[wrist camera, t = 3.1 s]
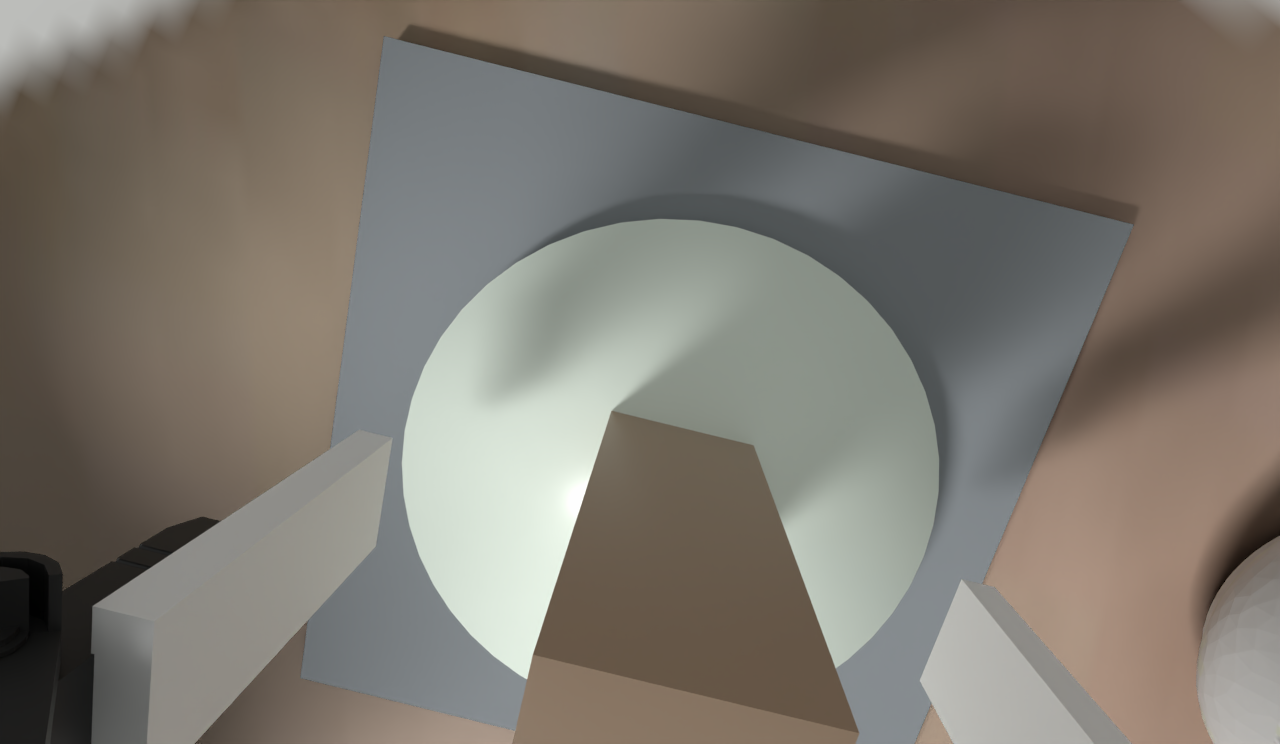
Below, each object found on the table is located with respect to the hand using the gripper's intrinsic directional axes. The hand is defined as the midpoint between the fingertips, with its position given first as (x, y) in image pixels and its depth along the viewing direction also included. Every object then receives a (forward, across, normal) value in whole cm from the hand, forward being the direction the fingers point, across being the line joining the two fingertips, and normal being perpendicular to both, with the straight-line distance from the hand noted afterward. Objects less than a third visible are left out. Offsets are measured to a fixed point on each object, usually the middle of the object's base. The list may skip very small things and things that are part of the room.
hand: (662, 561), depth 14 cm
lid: (+5, 0, 0) cm, 5 cm away
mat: (+5, 0, 0) cm, 5 cm away
